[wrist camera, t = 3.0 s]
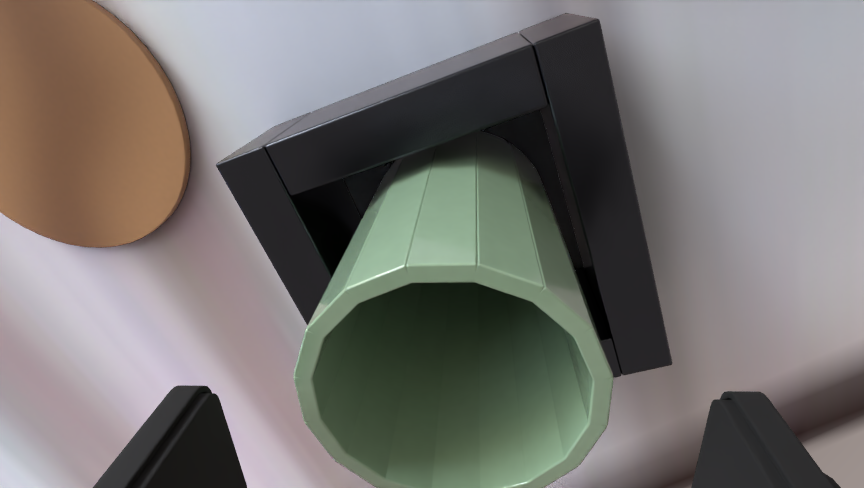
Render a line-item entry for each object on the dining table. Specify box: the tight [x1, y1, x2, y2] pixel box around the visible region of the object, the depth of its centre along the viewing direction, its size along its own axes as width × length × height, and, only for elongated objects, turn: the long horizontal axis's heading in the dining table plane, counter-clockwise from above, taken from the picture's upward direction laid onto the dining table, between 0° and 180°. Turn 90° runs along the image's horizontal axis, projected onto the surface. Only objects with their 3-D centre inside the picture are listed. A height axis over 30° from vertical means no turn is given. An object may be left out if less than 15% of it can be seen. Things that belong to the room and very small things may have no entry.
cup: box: [294, 131, 614, 488], centre depth 15 cm, size 6×6×10 cm
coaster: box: [0, 0, 191, 248], centre depth 19 cm, size 10×10×1 cm
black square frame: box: [216, 13, 672, 378], centre depth 17 cm, size 11×11×5 cm
